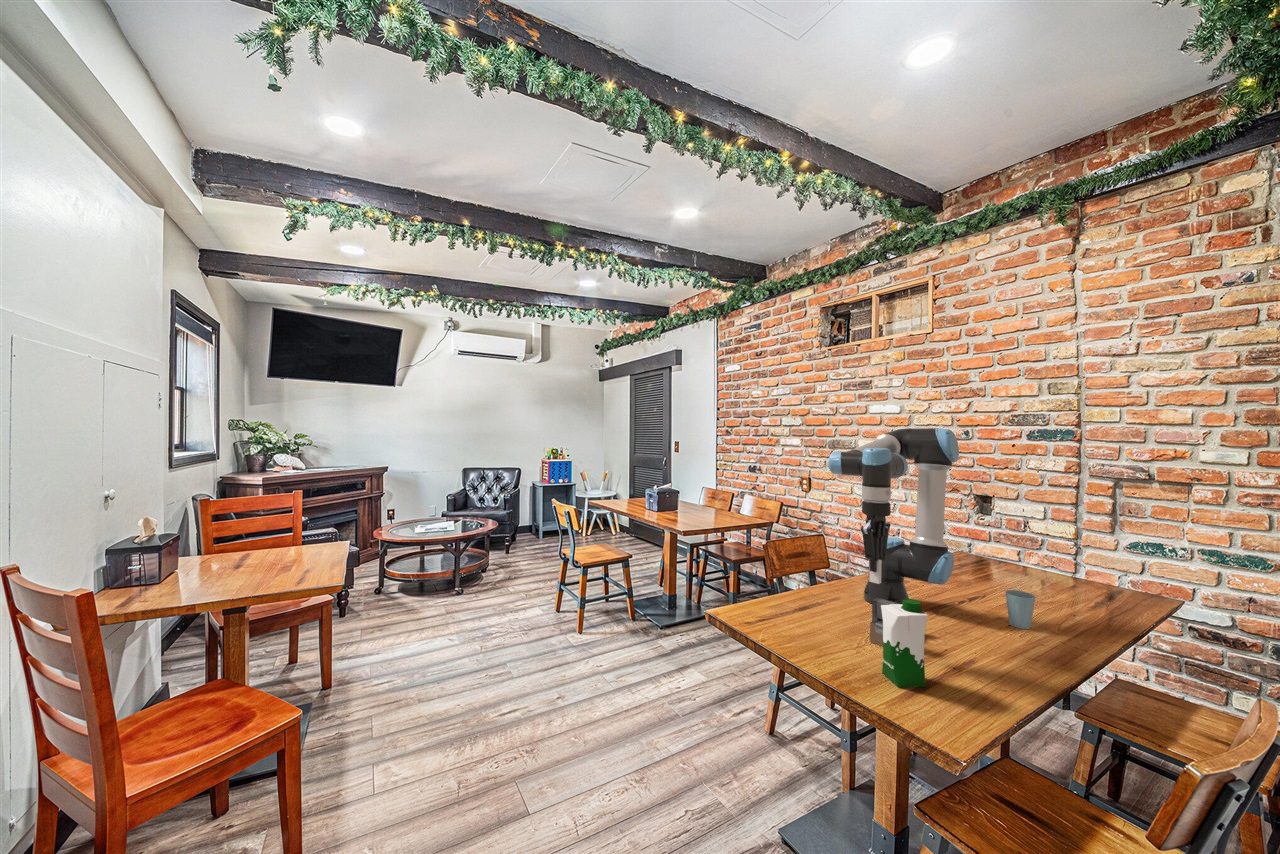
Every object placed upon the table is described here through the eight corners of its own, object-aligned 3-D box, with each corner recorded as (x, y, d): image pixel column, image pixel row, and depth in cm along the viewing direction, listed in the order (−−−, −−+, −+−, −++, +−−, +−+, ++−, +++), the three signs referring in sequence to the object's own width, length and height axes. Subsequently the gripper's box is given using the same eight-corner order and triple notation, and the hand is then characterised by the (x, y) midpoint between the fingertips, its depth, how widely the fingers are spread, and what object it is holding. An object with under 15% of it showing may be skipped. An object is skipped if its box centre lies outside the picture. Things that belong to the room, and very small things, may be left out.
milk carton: (931, 688, 118) (932, 607, 118) (896, 690, 117) (897, 608, 117) (908, 670, 127) (909, 595, 127) (876, 671, 126) (876, 595, 126)
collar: (896, 645, 140) (896, 607, 140) (871, 636, 145) (872, 600, 145) (901, 642, 142) (902, 604, 142) (877, 633, 148) (877, 597, 148)
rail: (897, 652, 137) (897, 629, 137) (863, 640, 145) (863, 617, 145) (925, 636, 148) (925, 614, 148) (892, 625, 156) (892, 605, 156)
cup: (1040, 628, 155) (1040, 596, 155) (1026, 632, 152) (1026, 599, 152) (1014, 619, 162) (1014, 588, 162) (1000, 623, 159) (1000, 591, 159)
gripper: (877, 504, 132) (877, 590, 132) (900, 500, 140) (899, 581, 140) (851, 501, 138) (851, 582, 138) (874, 497, 146) (873, 575, 146)
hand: (875, 582), depth 139 cm, fingers closed
